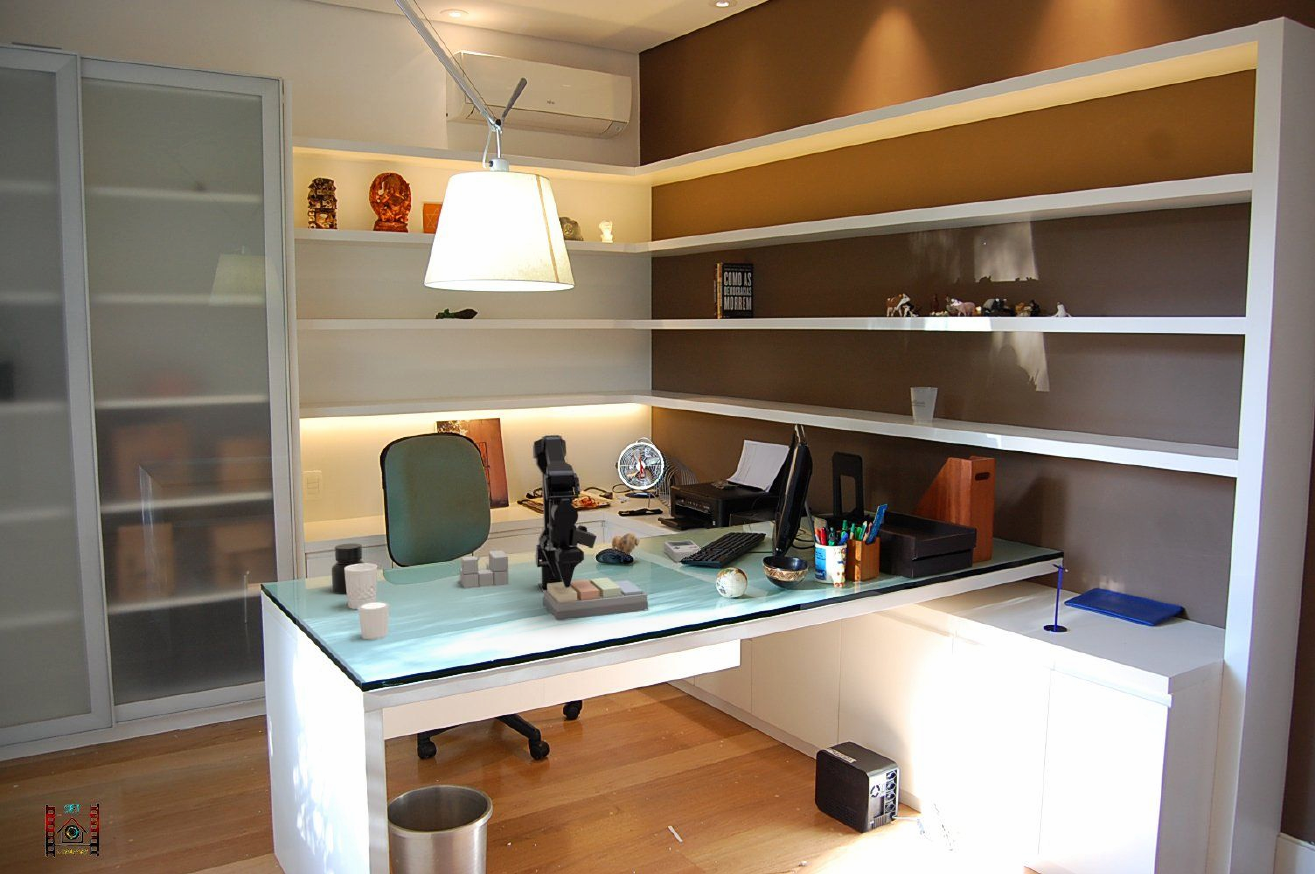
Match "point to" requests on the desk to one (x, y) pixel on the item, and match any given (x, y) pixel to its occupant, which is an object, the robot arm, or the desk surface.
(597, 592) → the terracotta key
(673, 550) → the handheld gaming device
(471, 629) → the desk surface
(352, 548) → the ink bottle
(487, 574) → the grey stacked cubes
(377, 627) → the white cylinder
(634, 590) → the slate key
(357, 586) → the white cup
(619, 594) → the sage key
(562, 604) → the pastel key tray
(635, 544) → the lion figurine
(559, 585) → the sand key
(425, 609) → the desk surface
